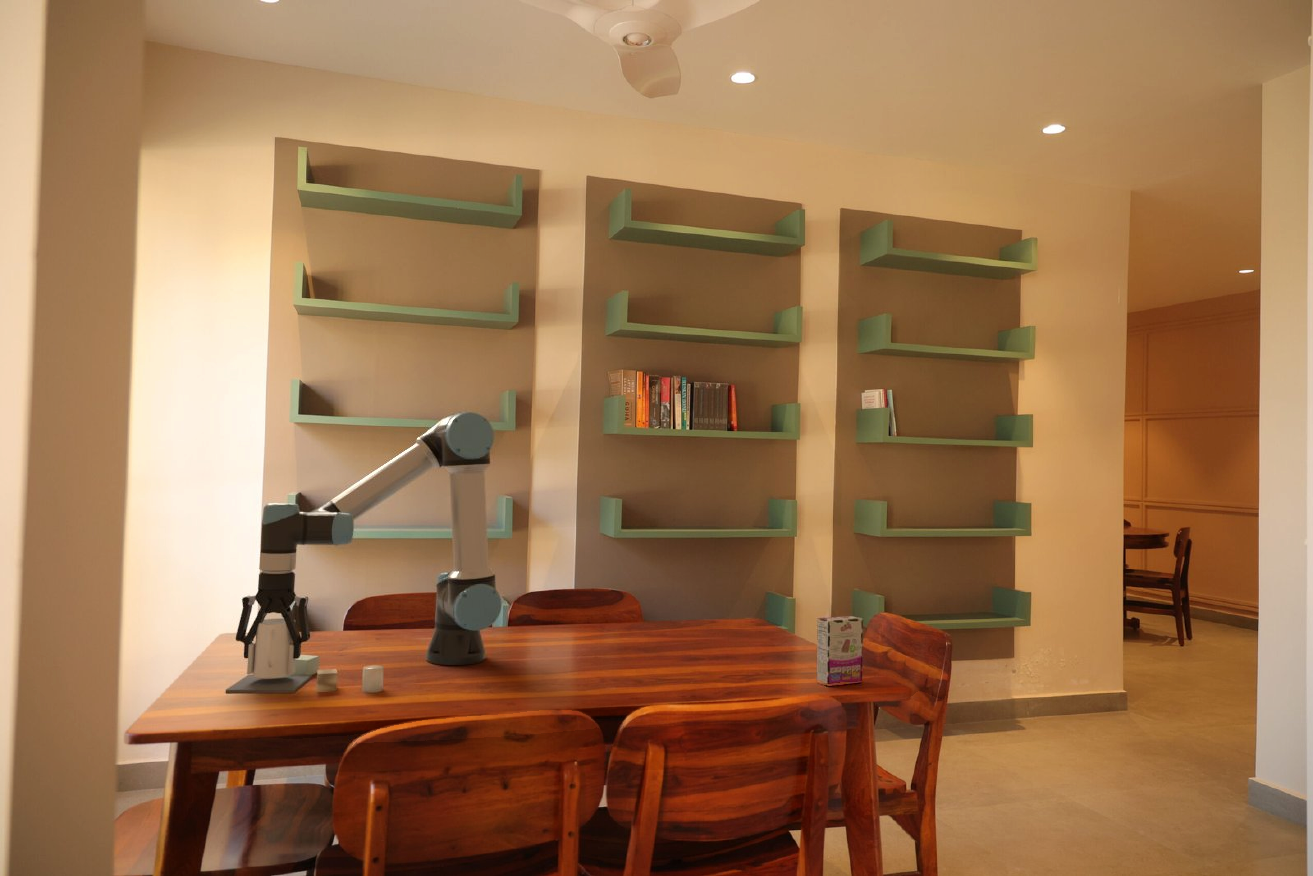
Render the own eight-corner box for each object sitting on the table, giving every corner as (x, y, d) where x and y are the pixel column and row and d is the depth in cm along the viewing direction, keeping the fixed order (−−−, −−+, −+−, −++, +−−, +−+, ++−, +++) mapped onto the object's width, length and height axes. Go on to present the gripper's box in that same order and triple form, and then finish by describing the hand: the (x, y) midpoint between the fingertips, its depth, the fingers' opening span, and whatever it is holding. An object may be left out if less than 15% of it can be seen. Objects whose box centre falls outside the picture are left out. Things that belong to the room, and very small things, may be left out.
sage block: (318, 672, 201) (319, 656, 201) (306, 677, 196) (307, 660, 196) (299, 671, 202) (300, 654, 202) (286, 675, 197) (287, 658, 197)
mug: (283, 682, 182) (287, 627, 183) (242, 682, 181) (245, 627, 181) (297, 670, 194) (300, 618, 194) (258, 670, 192) (262, 617, 193)
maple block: (335, 687, 188) (336, 669, 188) (336, 691, 184) (337, 673, 185) (316, 688, 186) (317, 670, 187) (316, 692, 183) (317, 674, 183)
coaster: (311, 677, 195) (311, 675, 195) (293, 693, 181) (293, 690, 181) (248, 677, 193) (248, 674, 193) (225, 692, 179) (225, 689, 179)
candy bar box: (849, 679, 215) (851, 615, 215) (862, 684, 210) (864, 618, 211) (814, 682, 209) (816, 617, 210) (827, 687, 205) (829, 620, 206)
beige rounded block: (384, 687, 189) (385, 665, 189) (380, 692, 184) (381, 669, 185) (364, 687, 188) (365, 665, 188) (359, 692, 184) (361, 669, 184)
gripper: (329, 570, 194) (323, 669, 192) (234, 568, 191) (228, 668, 190) (320, 574, 186) (314, 677, 185) (222, 572, 183) (215, 676, 182)
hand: (271, 672), depth 187 cm, fingers closed on mug, 8 cm apart
